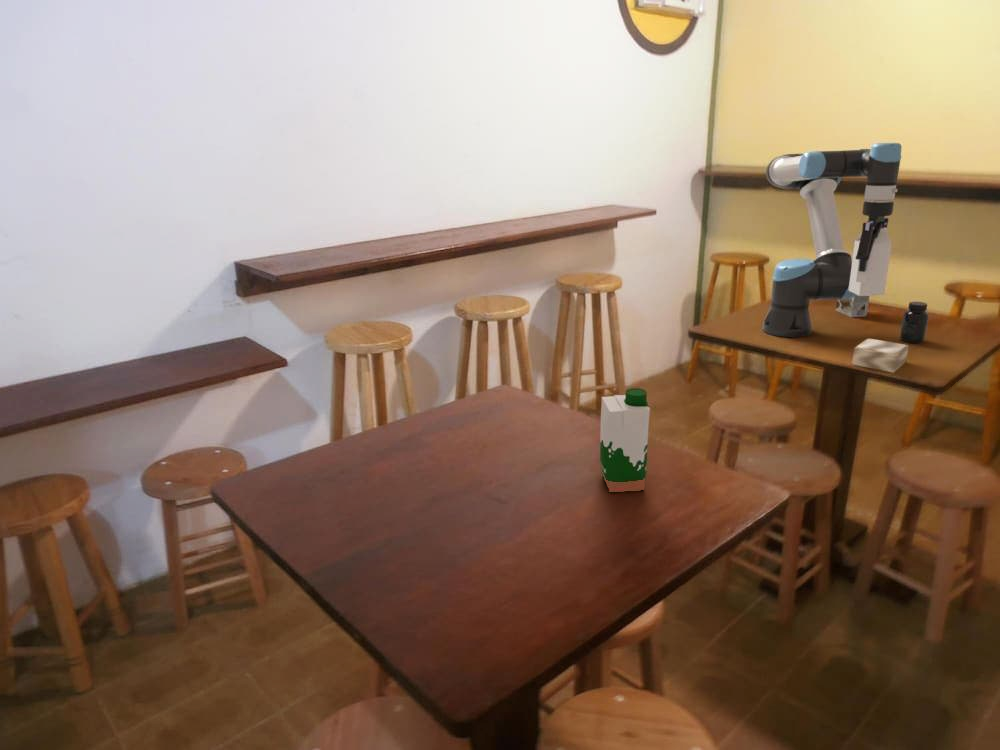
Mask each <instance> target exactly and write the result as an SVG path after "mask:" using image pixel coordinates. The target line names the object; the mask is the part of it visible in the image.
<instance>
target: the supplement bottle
mask: <svg viewBox="0 0 1000 750" xmlns="http://www.w3.org/2000/svg"><path fill="white" fill-rule="evenodd" d="M927 311H928V303H927V302H923V301H910V302H909V303H908V308H907V310H906V311H905V312H904V313H903V315H902V321H901V327H900V333H899V340H900V341H901V342H902V343H903V342H904V343H908V344H913V345H917V344H923V343H924V342H925V339H926V334H927V330H928V324H929V319H930V315H929V313H928V312H927Z"/></svg>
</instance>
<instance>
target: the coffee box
mask: <svg viewBox="0 0 1000 750" xmlns="http://www.w3.org/2000/svg"><path fill="white" fill-rule="evenodd" d="M870 297H871V296H858V295H855V296H854V297H852V298H849V299H841V300H838V299H836V307H835V312H837V313H840V314H842V315H844V316H847V317H848V318H858V317H867V315H868V308H869V307H868V306H869V302H870Z"/></svg>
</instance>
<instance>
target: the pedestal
mask: <svg viewBox="0 0 1000 750" xmlns="http://www.w3.org/2000/svg"><path fill="white" fill-rule="evenodd" d="M908 352H909V345H908V344H903V343H897V342H892V341H887V340H886V341H885V340H880V339H874V338H866V339H864V340H863V341H861V343H859V344H858V345H856V346H855V347H854V349H853V355H852V361H851V364H852V366H853V365H854V366H859V367H862V368H863V367H864V368H868V369H874V370H877V371H878V370H879V371H883V372H889V373H892V374H893V373H895V372H897V370H898V369H900V368H901V367H902V366H903V365H904V364H905V363H906V362H907V358H908Z"/></svg>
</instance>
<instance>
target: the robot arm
mask: <svg viewBox="0 0 1000 750" xmlns="http://www.w3.org/2000/svg"><path fill="white" fill-rule="evenodd" d="M901 159H902V145H901V143H899V142H876V143H873V144H872V145H871V147H870V148H860V149H851V150H849V149H848V150H847V149H846V150H824V151H821V150H820V151H819V150H815V151H814V150H813V151H806V152H804V153H787V154H786V153H785V154H782V155H779V156H776V157H774V158H773V159H772V160H770V162H769V163H768V164H767V167H766V170H765V175H766V179H767V181H768V183H769V184H771V185H772V186H774V187H776V188H779V189H785V190H797V189H798V190H799V191H798V192H799V195H800V197H801V198H802V199H805V202H806V206H807V207H806V208H807V213H808V218H809V224H810V230H811V236H812V240H813V246H814V251H815V258H814V260H812V259H809V258H791V259H786V260H783V261H781V262H779V263H777V264H776V265H775V267H774V272H773V276H772V287H771V288H772V289H771V299H770V306H769V309H768V311H767V313H766V315H765V317H764V320H763V321H762V331H763V332H764V333H766V334H769V335H771V336H778V337H784V338H800V337H801V338H803V337H807V336H809V335H811V334H812V331H813V324H812V319H811V315H810V311H809V310H810V309H809V308H810V307H809V306H810V302H811V301H817V300H818V301H819V300H828V301H829V300H837V299H838V300H841V299H849V298H852V297H854V296H855V295H856V294H854V293H852V292H850V291H849V282H850V275H851V267H852V260H853V257H852V254H851V253H849V252H848V251H846V249H845V245H844V241H843V236H842V235H843V234H842V230H841V224H840V221H839V215H838V209H837V205H836V204H837V203H836V200H835V194H834V193H835V190H836V189H837V187H838V185H839V184H840V182H841V180H842V178H866V182H865V183H866V184H865V189H864V197H863V199H864V200H865V201H864V202H863V204H862V205H863V206H862V215H864V216H868V218H867V222H863V223H862V228H863V229H862V228H861V232H862V235H861V239H860V243H859V248H858V252H857V256H856V259H858V260H859V263H858V271H857V278H856V282H860V283H867V278H868V271H869V264H870V260H869V257H870V254H871V250H872V247H873V244H874V241H875V238H877V237H878V234H879V232H880V229H881V228H888V225H889V224H888V223H889V216H892V215H893V212H894V206H895V204H894V201H893V200H894V199H895V196H896V193H897V192H898V188H897V183H898V177H899V171H900V165H901Z"/></svg>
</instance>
